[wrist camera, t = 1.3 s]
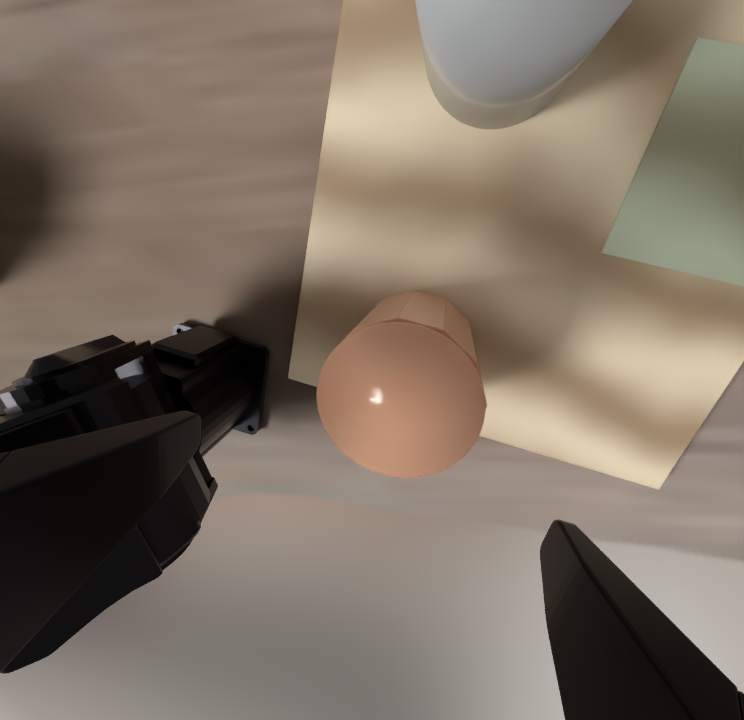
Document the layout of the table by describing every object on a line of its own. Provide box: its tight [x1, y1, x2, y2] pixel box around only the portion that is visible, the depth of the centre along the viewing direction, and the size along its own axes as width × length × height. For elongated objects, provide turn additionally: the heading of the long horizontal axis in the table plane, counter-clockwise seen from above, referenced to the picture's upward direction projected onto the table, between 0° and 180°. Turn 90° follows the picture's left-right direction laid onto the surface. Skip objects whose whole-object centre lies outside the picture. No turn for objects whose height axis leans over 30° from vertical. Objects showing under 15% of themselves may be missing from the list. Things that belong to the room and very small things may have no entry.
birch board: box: [288, 0, 744, 489], centre depth 17 cm, size 22×22×1 cm
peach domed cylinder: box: [316, 290, 487, 478], centre depth 17 cm, size 6×6×7 cm
